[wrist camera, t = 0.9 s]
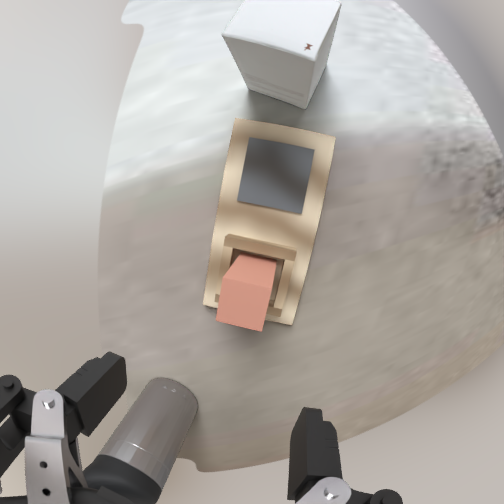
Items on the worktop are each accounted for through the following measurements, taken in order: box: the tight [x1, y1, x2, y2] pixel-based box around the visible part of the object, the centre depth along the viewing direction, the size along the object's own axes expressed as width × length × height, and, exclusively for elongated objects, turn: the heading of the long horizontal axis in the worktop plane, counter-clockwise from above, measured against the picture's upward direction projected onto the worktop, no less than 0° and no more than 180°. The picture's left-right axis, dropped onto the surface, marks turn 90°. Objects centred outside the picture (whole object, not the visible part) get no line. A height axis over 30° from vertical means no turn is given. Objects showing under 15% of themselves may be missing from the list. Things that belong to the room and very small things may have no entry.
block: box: [216, 252, 277, 332], centre depth 26 cm, size 4×4×9 cm
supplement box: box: [222, 0, 341, 110], centre depth 20 cm, size 7×7×13 cm
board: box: [203, 118, 336, 325], centre depth 29 cm, size 22×11×3 cm, turn 169°
